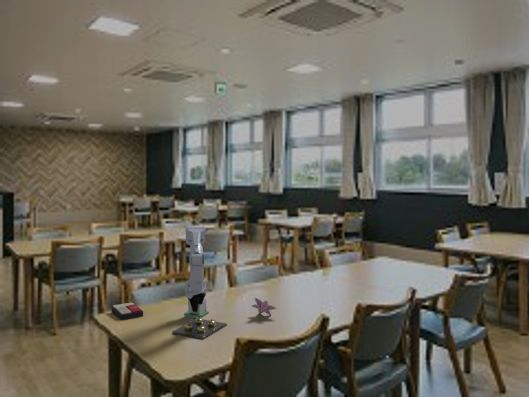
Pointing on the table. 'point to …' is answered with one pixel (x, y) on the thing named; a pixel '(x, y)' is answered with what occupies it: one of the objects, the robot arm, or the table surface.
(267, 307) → the lily
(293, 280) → the table surface
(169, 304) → the table surface
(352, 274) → the table surface
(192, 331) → the chassis
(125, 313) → the grey and red box
